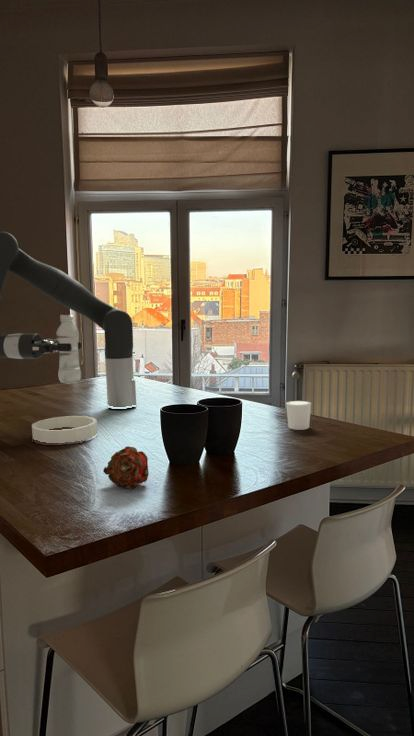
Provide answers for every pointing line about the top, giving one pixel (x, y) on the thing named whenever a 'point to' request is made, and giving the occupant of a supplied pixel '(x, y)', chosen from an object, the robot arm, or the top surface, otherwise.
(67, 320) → the plastic bottle
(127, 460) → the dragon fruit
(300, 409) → the white cup
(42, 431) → the bowl
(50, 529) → the top surface
